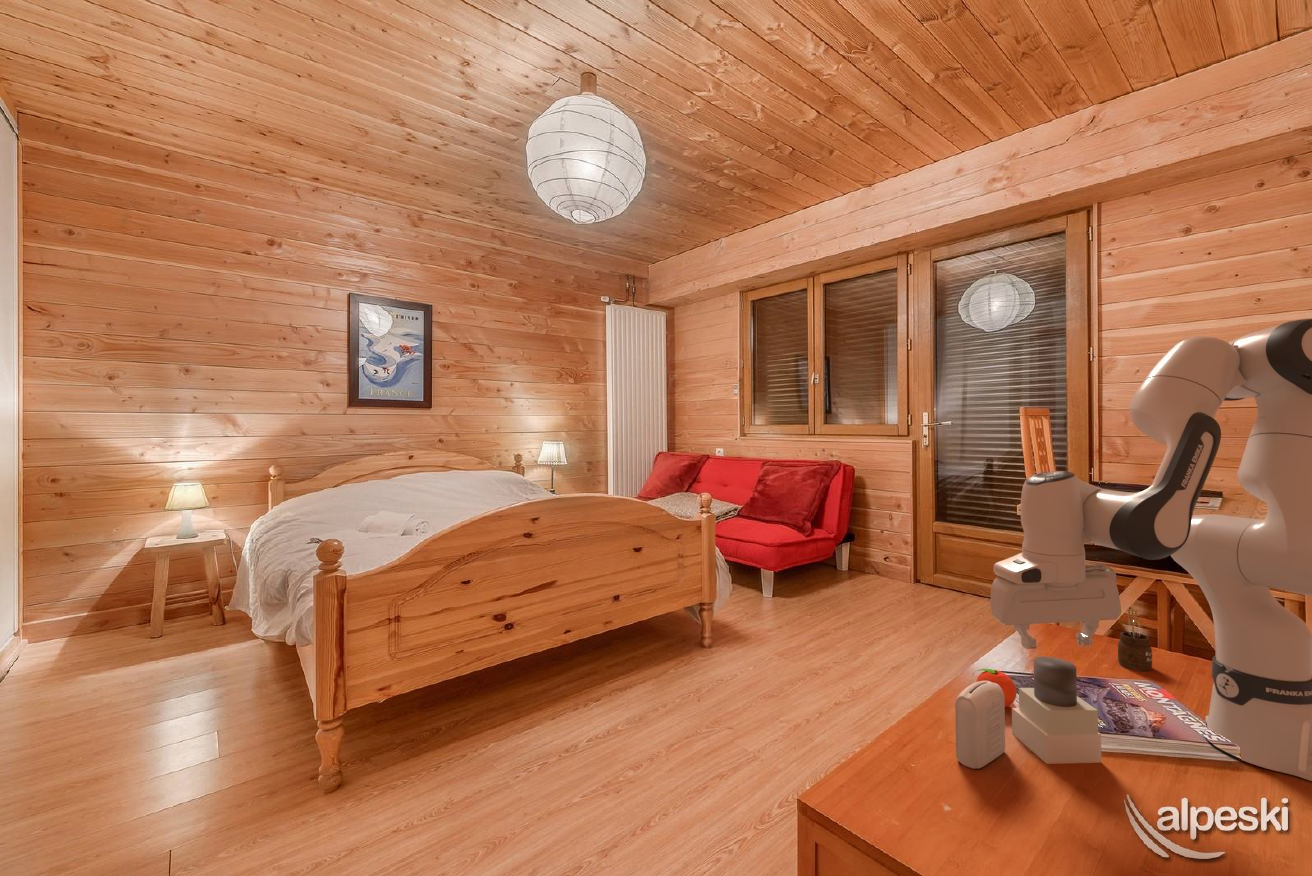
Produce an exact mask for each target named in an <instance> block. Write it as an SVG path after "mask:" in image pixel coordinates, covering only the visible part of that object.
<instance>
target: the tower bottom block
mask: <svg viewBox="0 0 1312 876" xmlns="http://www.w3.org/2000/svg"><path fill="white" fill-rule="evenodd" d="M1011 724H1012V725H1011V728H1012V731H1011V733H1012V734H1011V735H1013V736H1014V737H1015V738H1016V739H1018V740H1019V741H1020V742H1021V743H1022V744H1023V745H1025V747H1027V749H1029V750H1030V751H1031V752H1033V753H1034V754H1035V755H1036V756H1037V757H1038V758H1039V759H1041V761H1042V762H1043V763H1045V764H1047V765H1048V764H1049V765H1050V764H1051V765H1054V764H1056V765H1057V764H1058V765H1059V764H1093V763H1095V764H1097V763H1101V764H1102V734H1101V733H1100V732H1099V731H1098V734H1047V733H1046V732H1045V731H1044V730H1042V729H1041V728H1040V727H1039V726H1038V725H1036V724H1035V723H1034V722H1033V721H1032V720H1031V719H1029V718H1028V717H1027V716H1026V715H1025V714H1023V713H1022V712H1021V711H1020V710H1019V707H1011Z"/></svg>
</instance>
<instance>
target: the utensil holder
mask: <svg viewBox="0 0 1312 876" xmlns="http://www.w3.org/2000/svg"><path fill="white" fill-rule="evenodd" d="M1134 613H1135V614H1134ZM1134 616H1135V618H1134ZM1127 617H1128V625H1129V627H1131V628H1132V631H1131V628H1128V631H1122V632H1120V633H1119V640H1118V643H1117V661H1118V663H1119V665H1121V666H1122V667H1124V668H1127V669H1130V670H1134V671H1140V672H1141V671H1142V672H1146V671H1150V670H1152V668H1153V649H1152V647H1151V645H1150V643H1151V640H1150V637H1149V636H1148V635H1146V634H1143V633H1141V632H1140V629H1141V626H1142V624H1141V623H1140V622H1139V621H1138V611H1137V609H1135V610H1134V609H1130V608H1128V610H1127ZM1137 624H1138V630H1137V631H1138V632H1136V631H1135V626H1136V625H1137Z"/></svg>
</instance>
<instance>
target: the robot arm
mask: <svg viewBox="0 0 1312 876" xmlns="http://www.w3.org/2000/svg"><path fill="white" fill-rule="evenodd" d="M1247 398H1249V399H1250V398H1254V400H1255V402H1256V407H1257V417H1256V419H1255V421H1254V423H1253V426H1252V428H1251V431H1250V433H1249V436H1248V439H1247V442H1246V445H1245V448H1244V452H1243V455H1242V458H1241V461H1240V464H1239V467H1238V469H1237V473H1236V477H1237V481H1238V483H1239V484H1240V486H1241V487H1242V488H1243V490H1244V491H1245V492H1247V493H1248V494H1249V495H1251V496H1253V497H1254V498H1257V499H1258V500H1260V501H1262V502H1264V503H1265V504H1266V507H1267V510H1266V511H1267V512H1266V515H1265V516H1264V519H1263V518H1261V519H1259V518H1251V517H1244V516H1235V515H1234V516H1232V515H1226V514H1225V515H1224V514H1219V513H1218V514H1217V513H1213V514H1212V513H1211V514H1208V513H1206V514H1194V511H1195V510H1194V509H1196V508H1195V507H1196V506H1197V503H1198V501H1199V498H1200V495H1201V493H1202V490H1203V489H1204V487H1205V484H1206V481H1207V479H1208V476H1209V474H1210V471H1211V470H1212V466H1213V464H1214V461H1215V459H1216V456H1217V453H1218V451H1219V448H1220V443H1221V440H1222V429H1221V426H1220V424H1219V422H1218V421H1217V420H1216V419H1215V417H1216V414H1217V412H1218V411H1219V409H1220V407H1221V405H1222V404H1223V402H1226V401H1227V402H1229V401H1230V402H1232V401H1234V402H1235V401H1241V400H1245V399H1247ZM1128 412H1129V417H1130V419H1131V422H1132V423H1133V425H1134V426H1135V428H1136V429H1138V430H1139V431H1140V432H1141V433H1142V434H1144V435H1145V436H1146V437H1148V438H1150V439H1151V440H1153V441H1155V442H1157V443H1159V444H1161V445H1164V446H1166V451H1165V454H1164V456H1163V458H1162V460H1161V463H1160V465H1159V467H1158V469H1157V472H1156V474H1155V476H1154V478H1153V481H1152V483H1151V485H1150V486H1149V487H1148V488H1146V489H1144V490H1142V491H1137V492H1128V491H1122V490H1121V491H1120V490H1115V489H1114V490H1113V489H1108V488H1107V489H1106V488H1102V487H1100V486H1096V485H1093V484H1090V483H1088V482H1086V481H1084V480H1082V479H1080V478H1079V477H1078V476H1077V475H1076V473H1074V472H1072V471H1065V470H1056V471H1055V470H1053V471H1044V472H1039V473H1035V474H1033V475H1031V476H1028V477H1027V478H1026V479H1025V481H1024V482H1023V486H1022V490H1021V495H1020V496H1021V497H1020V523H1021V524H1020V525H1021V527H1022V530H1023V534H1024V535H1023V537H1024V538H1023V541H1022V545H1021V550H1022V552H1019V553H1017V554H1015V555H1013V556H1010V557H1008V558H1005V559H1003V560H999V561H998V562H995V563H994V564H993V567H992V568H993V573H994V575H996V576H997V577H996V578H995V579H993V582H992V584H991V589H990V612H991V615H992V617H994V618H995V619H996V620H997V621H998V622H1000V623H1001V624H1003V625H1005V626H1013V627H1014V628H1015V630H1016V631H1017V633H1018V634H1019V636H1020V637H1021V638H1020V640H1021V646H1022V647H1023V648H1025V649H1026V650H1031V649H1033V650H1034V649H1037V638H1035V637H1033V636H1032V635H1031V634H1029V633H1028V631H1029V630H1030V625H1034V624H1035V625H1036V624H1055V623H1075V622H1076V623H1077V622H1081V623H1083V626H1082V628H1081V630H1080V632H1075V637H1076V639H1075V640H1076V641H1075V642H1076V643H1077V644H1078V645H1081V647H1089V646H1090V647H1091V646H1092V645H1093V636H1094V635H1095V633H1096V632H1097V630H1098V629H1099V628H1100V627H1099V625H1100V624H1099V621H1111V620H1112V621H1113V620H1118V619H1119V618H1120V616H1121V615H1122V605H1121V598H1120V593H1119V589H1118V586H1117V573H1116V572H1115V570H1114V569H1113V568H1112V567H1110V566H1108V565H1107V564H1105V563H1098V564H1086V549H1085V544H1086V543H1091V544H1095V545H1097V546H1102V547H1105V548H1109V549H1110V548H1111V549H1114V550H1119V551H1122V552H1124V553H1127V554H1130V555H1132V556H1135V557H1139V558H1141V559H1145V560H1151V561H1152V560H1153V561H1154V560H1161V559H1165V558H1167V557H1169V556H1170V557H1171V558H1172V559H1173V561H1174V562H1176V563H1177V564H1178V565H1179V566H1181V567H1182V568H1183V569H1184V570H1185V571H1186V572H1188V574H1189V575H1191V577H1192V578H1193V579H1194V580H1195V582H1196V583H1197V585H1198V586H1199V588H1200V590H1201V591H1202V593H1203V594H1204V596H1205V598H1206V601H1207V603H1208V604H1209V607H1210V611H1211V614H1212V618H1213V627H1214V628H1213V629H1214V640H1215V641H1214V643H1215V646H1214V647H1215V655H1214V656H1213V657H1212V659H1211V660H1212V662H1211V677H1212V680H1213V685H1212V690H1211V695H1210V696H1211V697H1210V704H1209V710H1208V715H1205V719H1204V722H1205V721H1206V722H1207V725H1208V727H1209V728H1210V729H1212V730H1213V731H1214V732H1216V733H1217V734H1220V735H1222V736H1223V737H1225V738H1227V739H1229V740H1230V741H1231V742H1232V743H1235V744H1237V745H1238V746H1239V747H1240V752H1241V761H1243V762H1246V763H1249V764H1251V765H1255V766H1256V767H1261V768H1264V769H1268V770H1270V771H1275V772H1279V773H1283V774H1286V775H1287V774H1288V775H1291V776H1295V777H1298V778H1301V779H1304V780H1306V781H1310V782H1312V632H1311V629H1310V627H1309V626H1308V625H1307V623H1306V622H1305V621H1304V620H1303V619H1301V618H1300V617H1299V616H1298V615H1296V614H1294V613H1293V612H1292V611H1290V610H1288V609H1287V608H1286V607H1284V606H1283V605H1282V604H1281V603H1280V602H1279V601H1278V600H1277V599H1276V598H1275V596H1274V595H1273V594H1272V592H1271V590H1270V588H1271V589H1276V590H1281V591H1286V592H1289V593H1290V592H1291V593H1295V594H1300V595H1304V596H1309V597H1312V318H1304V319H1297V320H1290V321H1286V322H1284V323H1281V324H1279V325H1275V326H1272V327H1266V328H1263V329H1260V330H1256V331H1253V332H1250V333H1246V334H1245V335H1243V336H1241V337H1237V338H1234V339H1233V340H1229V341H1225V340H1224V339H1220V338H1217V337H1212V336H1205V335H1204V336H1200V335H1199V336H1192V337H1187V338H1185V339H1182V340H1180V341H1179V342H1177V343H1175V344H1174V346H1172V347H1171V348H1170V349H1169V350H1168V351H1167V352H1166V353H1165V354H1164V355H1163V356H1162V357H1161V358H1160V359H1159V360H1158V361H1157V363H1156V364H1155V365H1154V366H1153V367H1152V368H1151V370H1149V372H1148V373H1147V375H1146V376H1145V378H1144V379H1143V380H1142V382H1141V383H1140V385H1139V386H1138V388H1137V389H1136V390H1135V392H1134V394H1133V396H1132V398H1131V399H1130V403H1129V406H1128Z"/></svg>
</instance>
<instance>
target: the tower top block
mask: <svg viewBox="0 0 1312 876" xmlns="http://www.w3.org/2000/svg"><path fill="white" fill-rule="evenodd" d="M1018 708H1019V710H1020V711H1021V712H1022V713H1023V714H1025V715H1026V716H1027V717H1028V718H1029V719H1031V720H1032V721H1033V722H1034V723H1035V724H1036V725H1038V726H1039V727H1040V728H1041V729H1042V730H1044V731H1045V732H1046V733H1047V734H1098V732H1099V710H1098V709H1097V708H1095V707H1094V706H1092V704H1089V703H1088V702H1086V701H1085V700H1084V699H1082V698H1081V697H1080V696H1078V695H1077V704H1076V705H1075V706H1073V707H1060V706H1054V705H1050V704H1047V703H1045V702H1042V701H1040V700H1039V699H1037V698H1036V697H1035V696H1034V687H1018Z"/></svg>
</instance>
